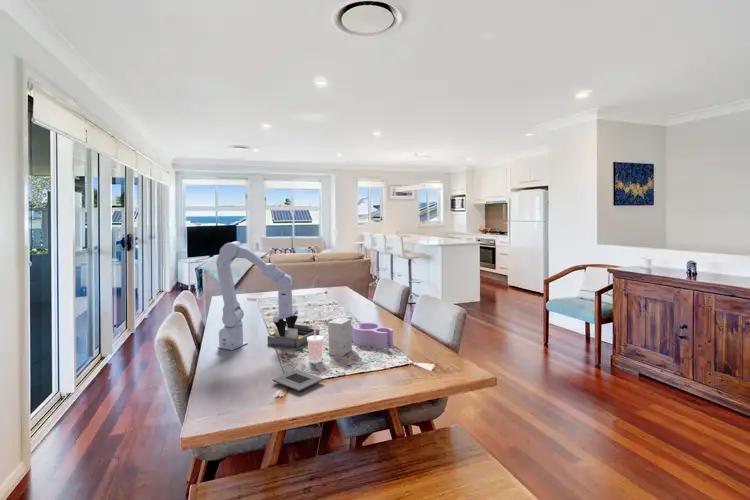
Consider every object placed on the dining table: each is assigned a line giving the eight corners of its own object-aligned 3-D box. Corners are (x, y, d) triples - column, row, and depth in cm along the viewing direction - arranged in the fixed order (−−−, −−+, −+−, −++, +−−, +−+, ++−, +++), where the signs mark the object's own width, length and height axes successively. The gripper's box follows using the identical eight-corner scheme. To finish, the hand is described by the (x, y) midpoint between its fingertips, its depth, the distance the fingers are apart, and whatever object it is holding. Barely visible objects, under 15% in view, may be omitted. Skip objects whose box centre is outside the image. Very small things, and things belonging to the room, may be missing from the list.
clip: (399, 344, 173) (399, 328, 173) (380, 352, 164) (379, 335, 163) (364, 335, 186) (364, 320, 186) (344, 342, 177) (344, 326, 176)
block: (294, 346, 171) (294, 330, 170) (275, 344, 175) (274, 328, 174) (298, 345, 173) (297, 329, 173) (278, 342, 177) (278, 326, 177)
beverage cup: (312, 357, 159) (311, 321, 157) (326, 359, 156) (325, 323, 155) (304, 362, 153) (303, 326, 152) (318, 364, 151) (317, 327, 149)
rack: (296, 348, 168) (296, 334, 168) (267, 344, 174) (267, 330, 174) (319, 337, 184) (319, 324, 183) (291, 333, 190) (291, 320, 189)
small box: (338, 348, 169) (337, 317, 168) (352, 350, 166) (351, 318, 165) (328, 354, 161) (327, 322, 160) (342, 356, 159) (341, 323, 158)
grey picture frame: (272, 385, 134) (271, 378, 134) (296, 375, 142) (296, 368, 142) (299, 396, 126) (298, 388, 126) (323, 384, 134) (323, 377, 134)
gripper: (282, 307, 164) (283, 340, 166) (303, 300, 177) (304, 330, 179) (268, 306, 167) (269, 338, 169) (289, 299, 180) (290, 329, 182)
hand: (286, 334), depth 174 cm, fingers open, 5 cm apart
